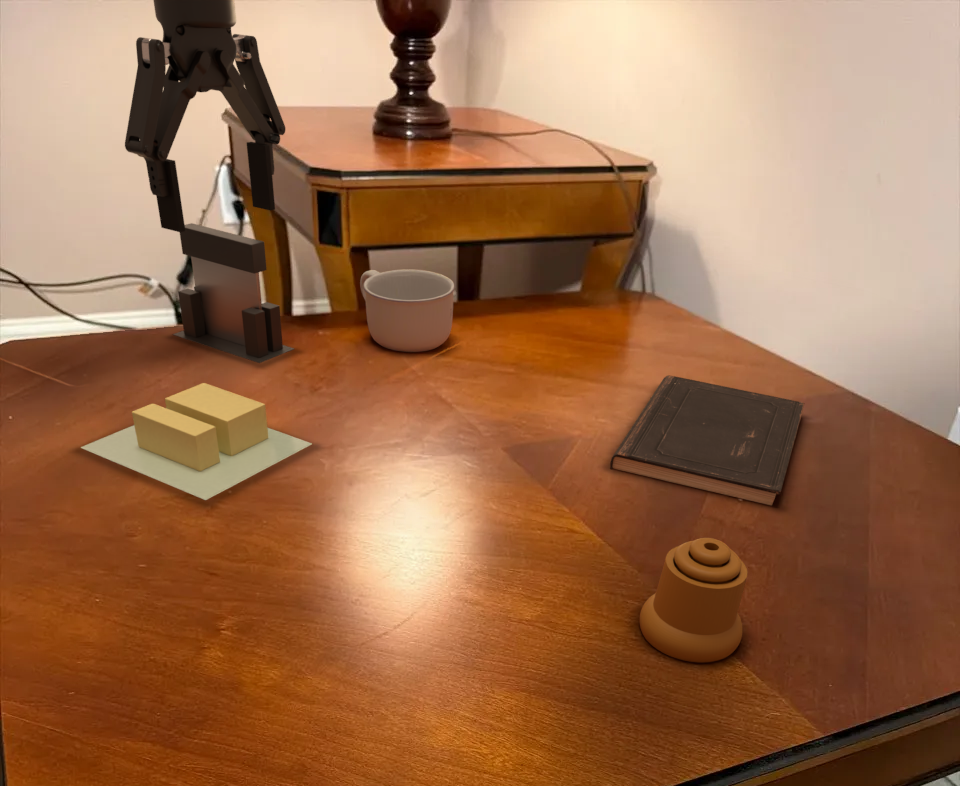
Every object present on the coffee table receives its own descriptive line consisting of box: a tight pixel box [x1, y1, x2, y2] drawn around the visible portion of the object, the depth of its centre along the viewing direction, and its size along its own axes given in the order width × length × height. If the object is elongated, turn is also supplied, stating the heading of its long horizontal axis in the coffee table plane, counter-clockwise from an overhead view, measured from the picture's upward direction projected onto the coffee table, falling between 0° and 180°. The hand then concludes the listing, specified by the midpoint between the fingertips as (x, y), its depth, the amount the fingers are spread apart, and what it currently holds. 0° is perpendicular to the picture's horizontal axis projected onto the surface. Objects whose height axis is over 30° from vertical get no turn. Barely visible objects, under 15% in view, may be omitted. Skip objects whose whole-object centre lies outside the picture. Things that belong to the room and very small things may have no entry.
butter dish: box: [80, 424, 313, 501], centre depth 82 cm, size 16×14×1 cm
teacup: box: [359, 268, 455, 353], centre depth 107 cm, size 14×11×8 cm
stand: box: [172, 286, 295, 364], centre depth 102 cm, size 14×6×6 cm, turn 58°
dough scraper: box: [179, 222, 267, 346], centre depth 100 cm, size 11×2×12 cm, turn 58°
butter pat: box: [131, 403, 220, 471], centre depth 79 cm, size 8×2×4 cm, turn 58°
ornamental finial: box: [639, 537, 748, 664], centre depth 62 cm, size 8×8×8 cm
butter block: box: [164, 382, 269, 456], centre depth 83 cm, size 8×5×4 cm, turn 58°
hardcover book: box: [609, 374, 806, 506], centre depth 90 cm, size 16×23×2 cm
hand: (220, 218), depth 95 cm, fingers open, 13 cm apart
